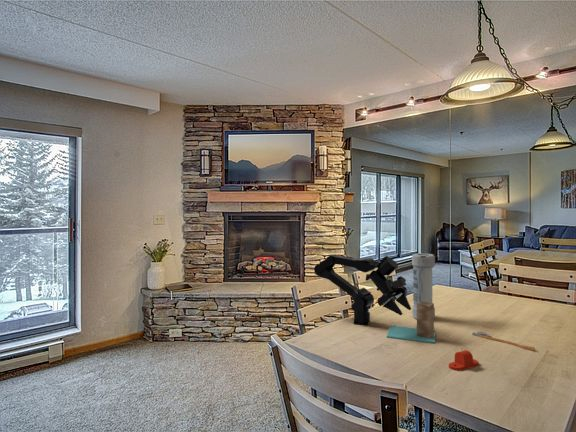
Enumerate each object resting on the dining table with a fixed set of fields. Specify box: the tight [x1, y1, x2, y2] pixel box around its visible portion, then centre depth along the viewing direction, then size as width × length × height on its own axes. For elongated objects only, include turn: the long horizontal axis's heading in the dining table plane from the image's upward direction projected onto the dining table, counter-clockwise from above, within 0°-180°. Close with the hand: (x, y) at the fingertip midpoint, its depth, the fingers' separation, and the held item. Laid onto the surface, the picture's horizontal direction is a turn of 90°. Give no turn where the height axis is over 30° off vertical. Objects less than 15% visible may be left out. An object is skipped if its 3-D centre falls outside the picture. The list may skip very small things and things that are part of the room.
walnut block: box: [416, 301, 435, 339], centre depth 144 cm, size 5×5×13 cm
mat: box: [386, 325, 436, 344], centre depth 147 cm, size 18×14×1 cm
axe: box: [471, 331, 536, 352], centre depth 139 cm, size 22×6×2 cm, turn 38°
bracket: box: [448, 349, 479, 372], centre depth 118 cm, size 12×4×5 cm, turn 114°
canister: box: [411, 252, 436, 320], centre depth 169 cm, size 10×10×30 cm
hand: (406, 312), depth 149 cm, fingers open, 9 cm apart
